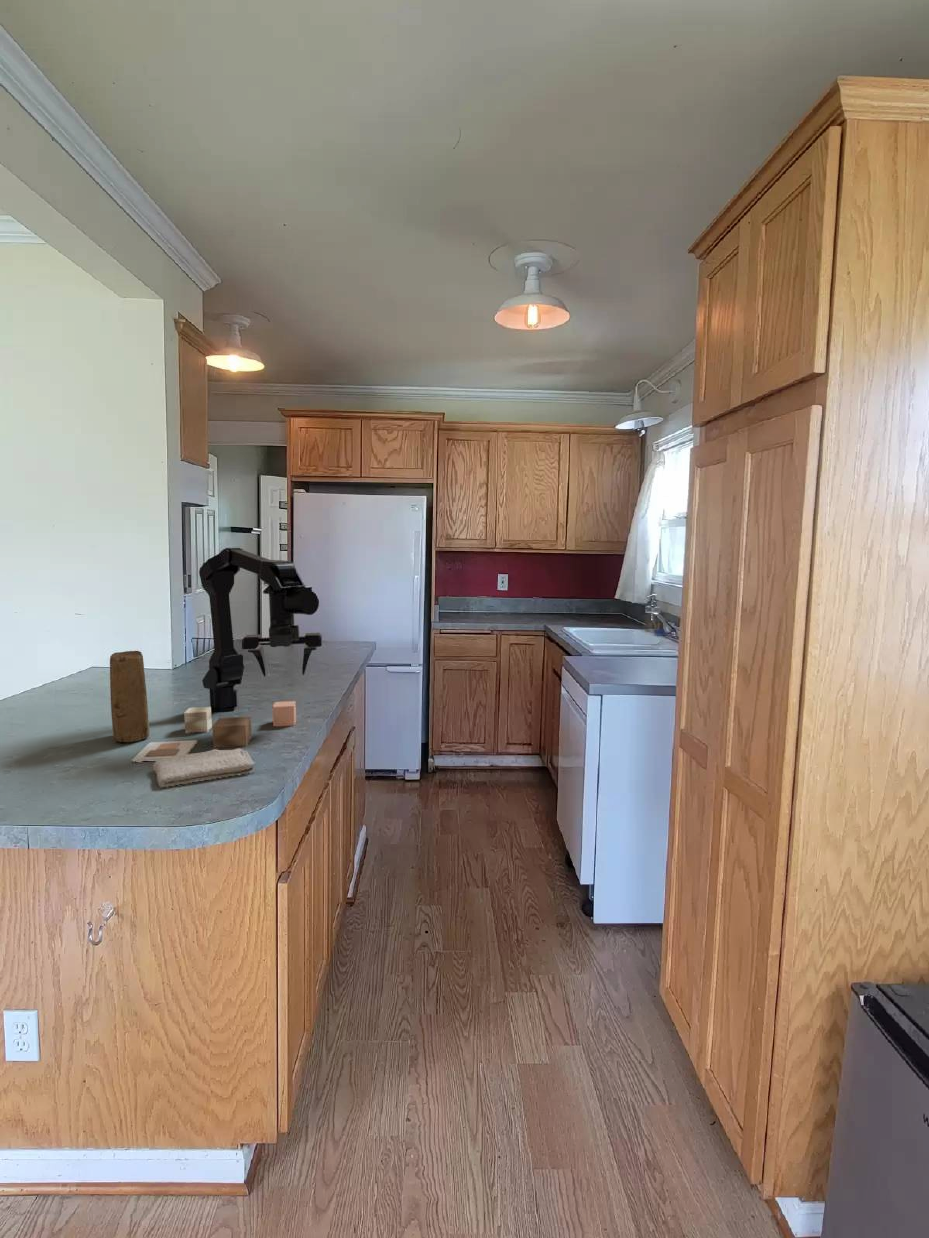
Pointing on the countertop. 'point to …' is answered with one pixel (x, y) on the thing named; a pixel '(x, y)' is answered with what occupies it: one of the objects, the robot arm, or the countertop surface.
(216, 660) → the robot arm
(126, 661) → the block
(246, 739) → the walnut block
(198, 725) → the ash cube
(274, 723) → the terracotta cube
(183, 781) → the washcloth
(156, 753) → the card
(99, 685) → the countertop surface
